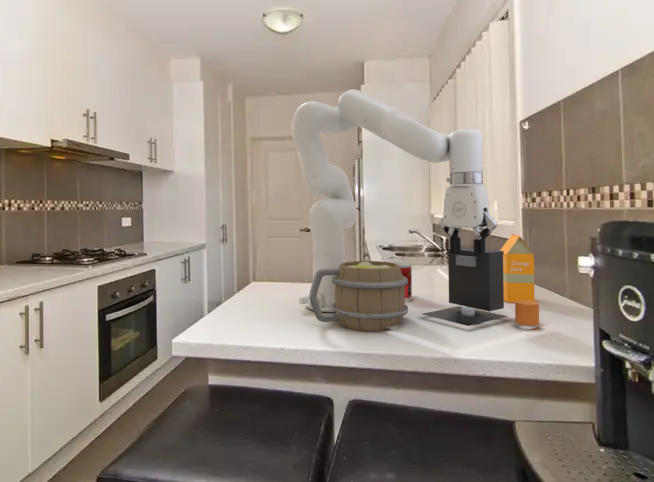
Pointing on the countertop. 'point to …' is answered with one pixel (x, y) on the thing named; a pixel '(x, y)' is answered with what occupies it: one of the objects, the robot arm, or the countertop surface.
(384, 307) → the mug
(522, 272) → the orange juice
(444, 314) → the base
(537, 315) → the container
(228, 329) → the countertop surface
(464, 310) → the button
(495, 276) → the coffee maker
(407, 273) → the canned food
